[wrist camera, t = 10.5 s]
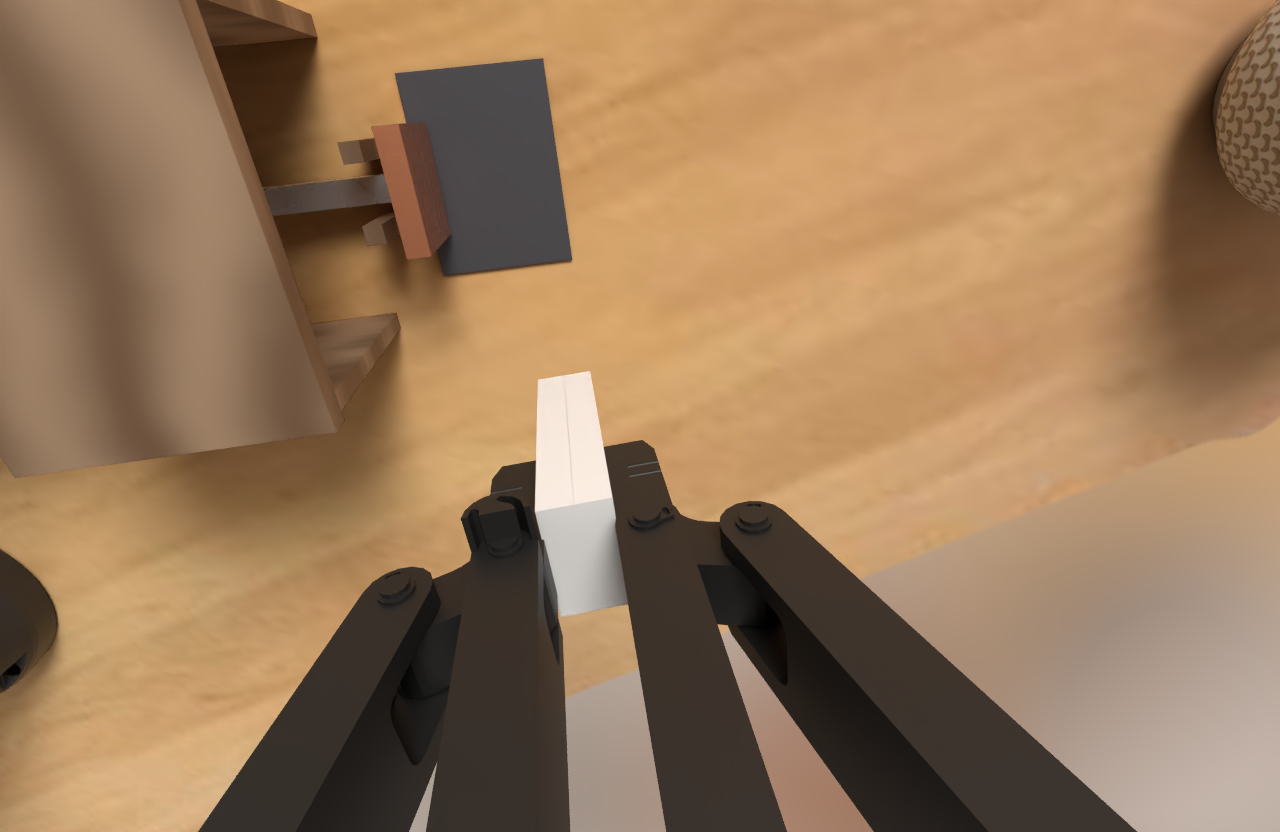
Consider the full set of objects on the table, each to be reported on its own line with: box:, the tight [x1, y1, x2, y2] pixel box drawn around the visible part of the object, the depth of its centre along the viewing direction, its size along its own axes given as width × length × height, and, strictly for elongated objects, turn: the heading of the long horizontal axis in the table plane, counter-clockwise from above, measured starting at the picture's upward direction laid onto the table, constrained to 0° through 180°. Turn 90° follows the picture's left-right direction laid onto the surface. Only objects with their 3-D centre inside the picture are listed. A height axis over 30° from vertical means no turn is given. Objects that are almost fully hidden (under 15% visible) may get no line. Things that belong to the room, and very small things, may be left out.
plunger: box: [262, 123, 451, 260], centre depth 31 cm, size 21×9×7 cm, turn 96°
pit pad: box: [395, 58, 572, 275], centre depth 36 cm, size 8×11×1 cm
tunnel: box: [0, 0, 401, 478], centre depth 28 cm, size 14×17×15 cm
